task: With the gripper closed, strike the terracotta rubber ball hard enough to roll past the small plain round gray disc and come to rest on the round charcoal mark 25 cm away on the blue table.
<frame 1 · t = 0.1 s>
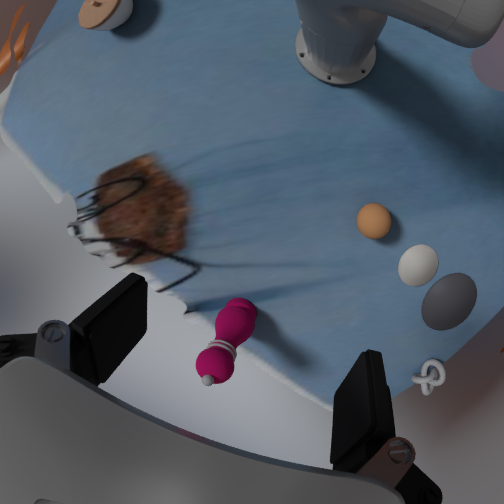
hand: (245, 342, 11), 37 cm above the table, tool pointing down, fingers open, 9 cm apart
lidded jar: (121, 14, 37), on the table
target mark: (450, 303, 45), on the table
knot: (424, 368, 52), on the table
pepper mill: (241, 310, 56), on the table
plain round gray disc: (418, 265, 44), on the table
ball: (374, 221, 41), on the table
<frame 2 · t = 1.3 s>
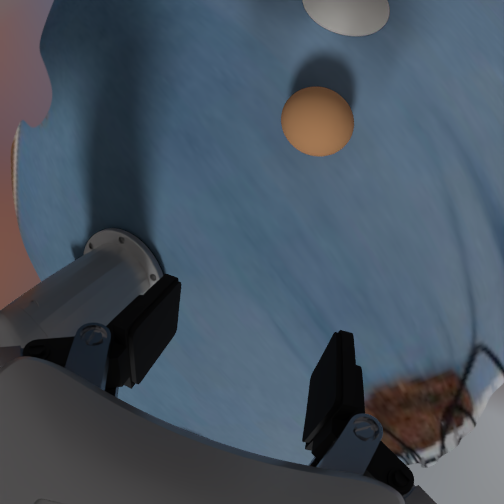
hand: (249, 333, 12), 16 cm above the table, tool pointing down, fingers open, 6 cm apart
plain round gray disc: (346, 1, 16), on the table
ball: (317, 121, 19), on the table
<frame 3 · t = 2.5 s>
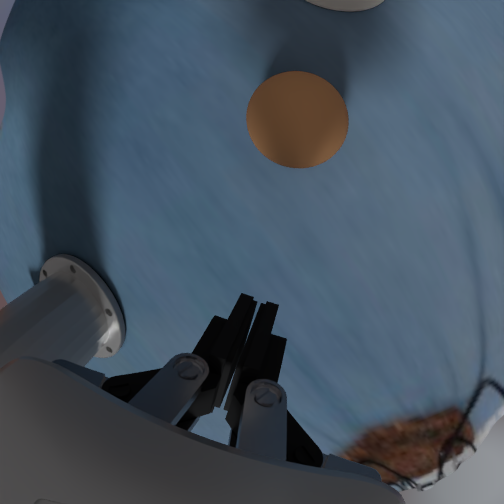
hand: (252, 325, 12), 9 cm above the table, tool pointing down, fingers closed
ball: (297, 119, 14), on the table
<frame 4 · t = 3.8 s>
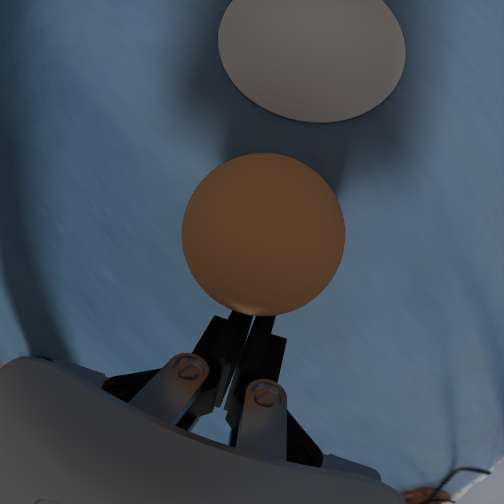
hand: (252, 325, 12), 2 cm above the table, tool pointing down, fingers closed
plain round gray disc: (312, 35, 9), on the table
ball: (263, 234, 10), on the table
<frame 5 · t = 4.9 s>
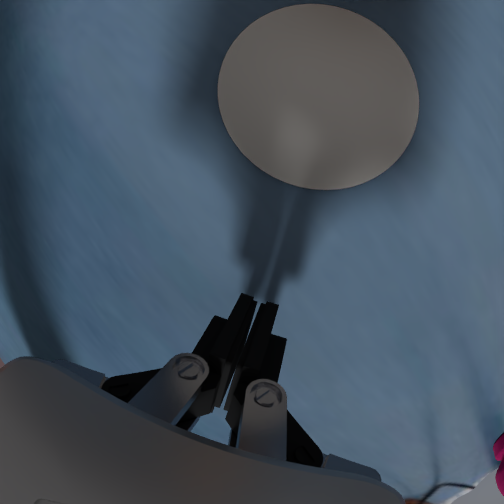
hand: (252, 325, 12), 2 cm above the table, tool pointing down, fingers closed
plain round gray disc: (319, 89, 9), on the table
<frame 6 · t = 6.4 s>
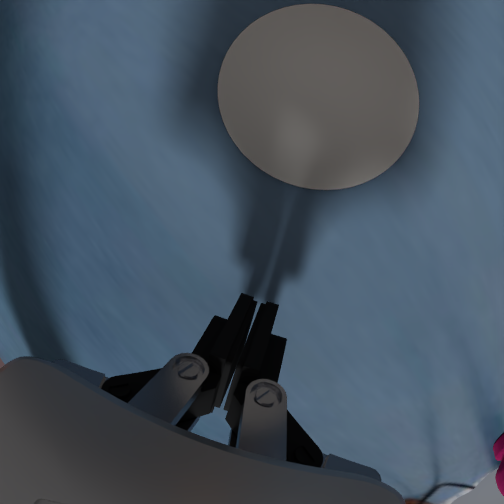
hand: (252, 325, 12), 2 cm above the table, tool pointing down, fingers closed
plain round gray disc: (319, 89, 9), on the table
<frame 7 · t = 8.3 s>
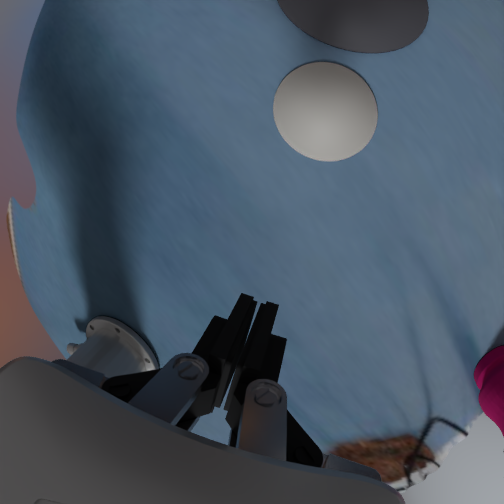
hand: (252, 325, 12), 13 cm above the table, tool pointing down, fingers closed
pepper mill: (492, 362, 23), on the table
plain round gray disc: (325, 110, 19), on the table
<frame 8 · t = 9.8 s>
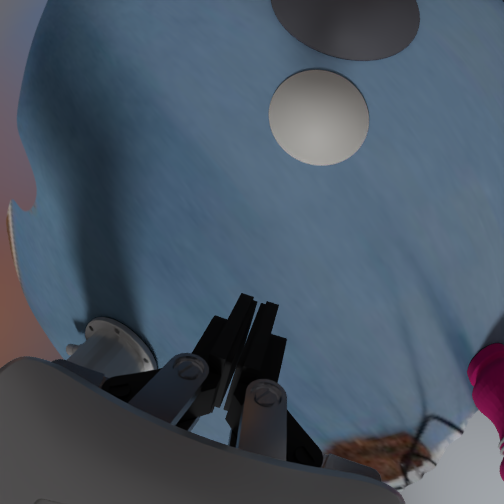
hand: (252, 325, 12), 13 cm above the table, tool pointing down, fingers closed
pepper mill: (486, 360, 24), on the table
plain round gray disc: (319, 116, 20), on the table
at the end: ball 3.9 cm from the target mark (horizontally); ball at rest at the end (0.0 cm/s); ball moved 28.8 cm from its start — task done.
